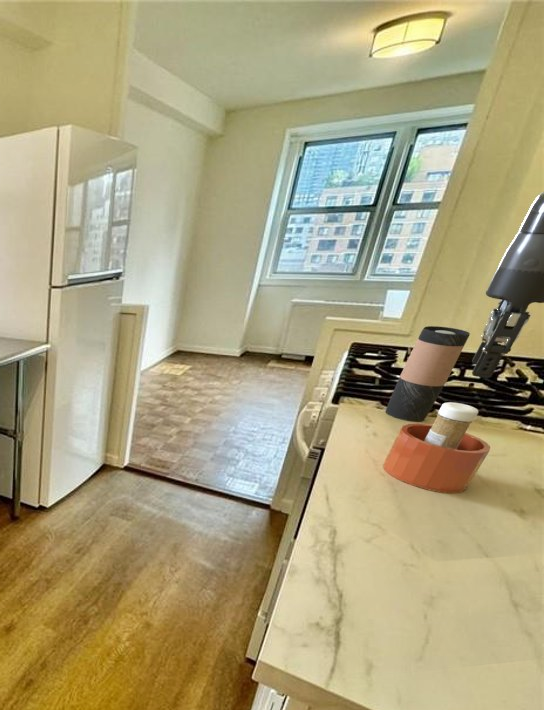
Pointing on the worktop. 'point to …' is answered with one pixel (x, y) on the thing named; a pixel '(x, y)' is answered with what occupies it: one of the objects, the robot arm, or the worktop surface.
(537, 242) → the robot arm
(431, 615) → the worktop surface
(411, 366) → the travel mug
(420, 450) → the crock
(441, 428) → the sprinkles bottle
